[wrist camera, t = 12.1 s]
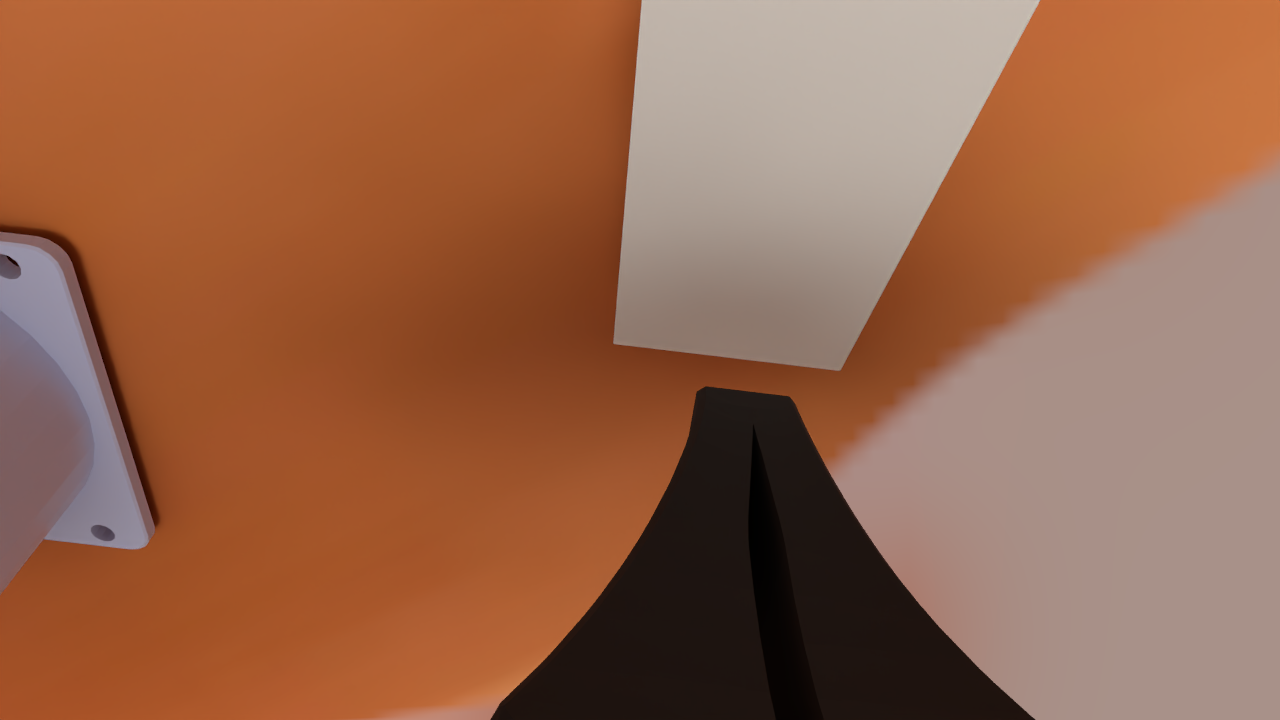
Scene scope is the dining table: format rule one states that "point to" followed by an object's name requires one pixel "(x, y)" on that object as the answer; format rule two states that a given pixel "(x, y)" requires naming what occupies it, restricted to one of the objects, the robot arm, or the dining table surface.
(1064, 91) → the dining table surface
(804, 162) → the domino
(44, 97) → the dining table surface
